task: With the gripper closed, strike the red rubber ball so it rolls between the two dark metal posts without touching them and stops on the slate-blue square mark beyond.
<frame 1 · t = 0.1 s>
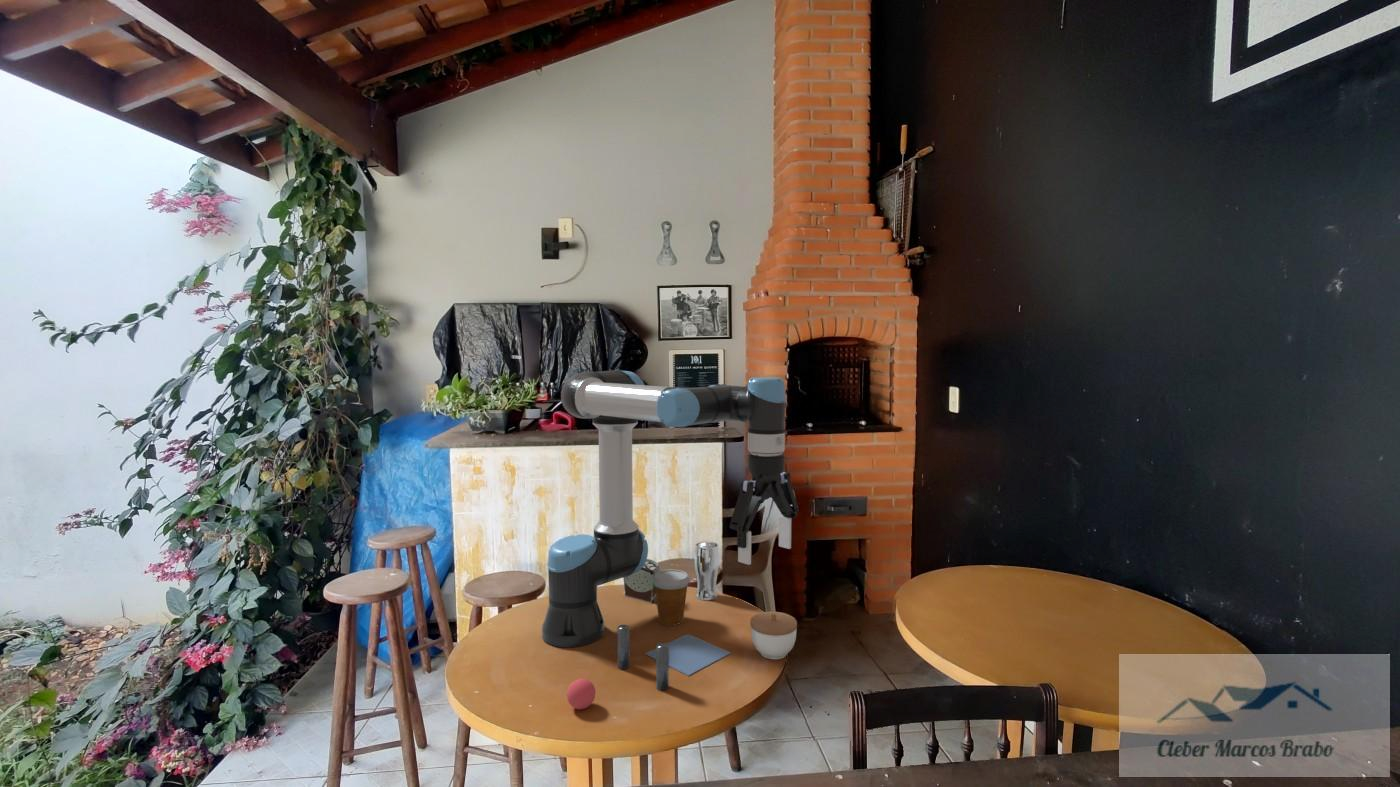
hand: (765, 554, 131), 28 cm above the table, tool pointing down, fingers open, 13 cm apart
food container: (644, 596, 181), on the table
lidded jar: (773, 654, 147), on the table
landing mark: (688, 654, 147), on the table
post 1: (623, 666, 141), on the table
post 2: (662, 687, 132), on the table
ball: (581, 693, 125), on the table
disposable coffee cup: (671, 621, 165), on the table
beer glass: (706, 597, 181), on the table
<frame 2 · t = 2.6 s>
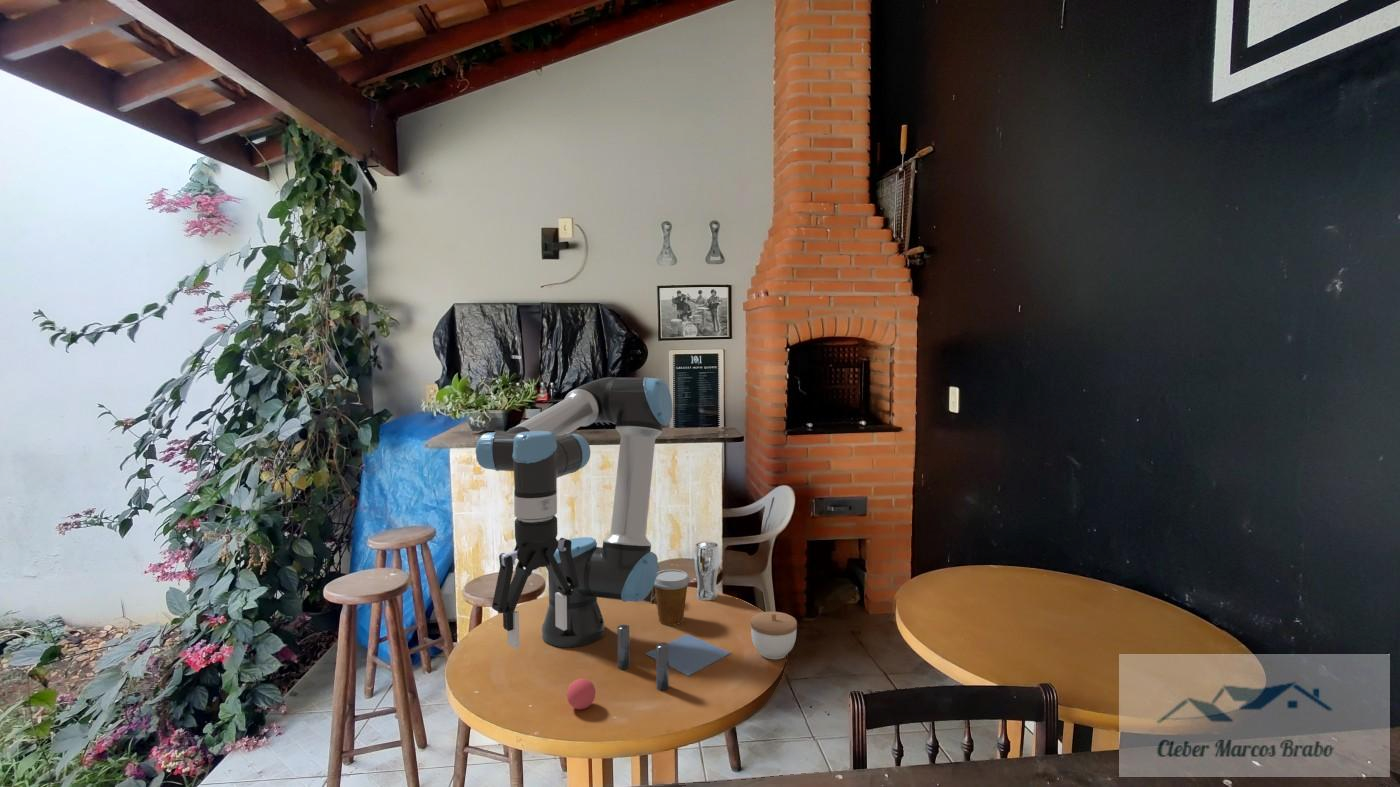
hand: (538, 636, 117), 18 cm above the table, tool pointing down, fingers open, 9 cm apart
nothing on the table moved.
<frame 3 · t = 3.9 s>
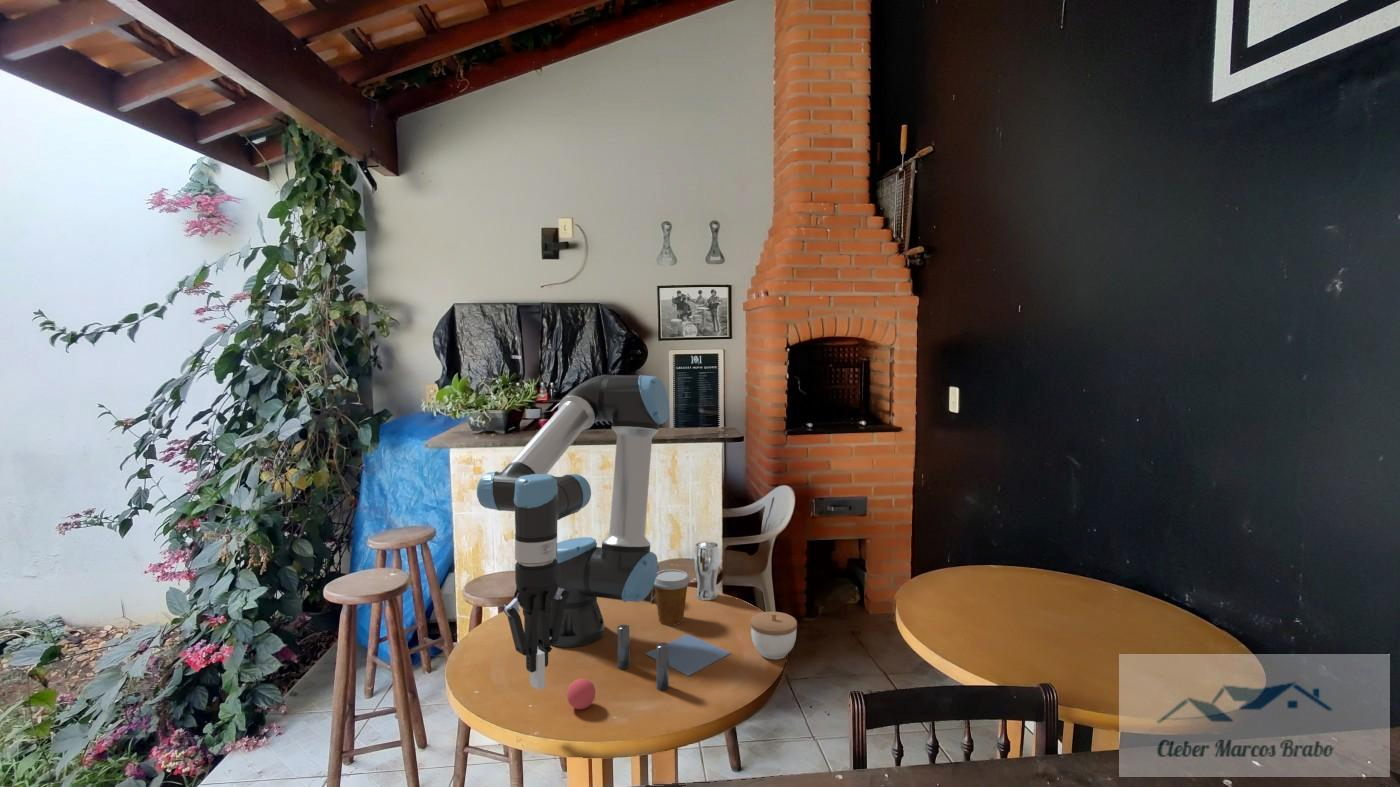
hand: (537, 685, 117), 8 cm above the table, tool pointing down, fingers closed
nothing on the table moved.
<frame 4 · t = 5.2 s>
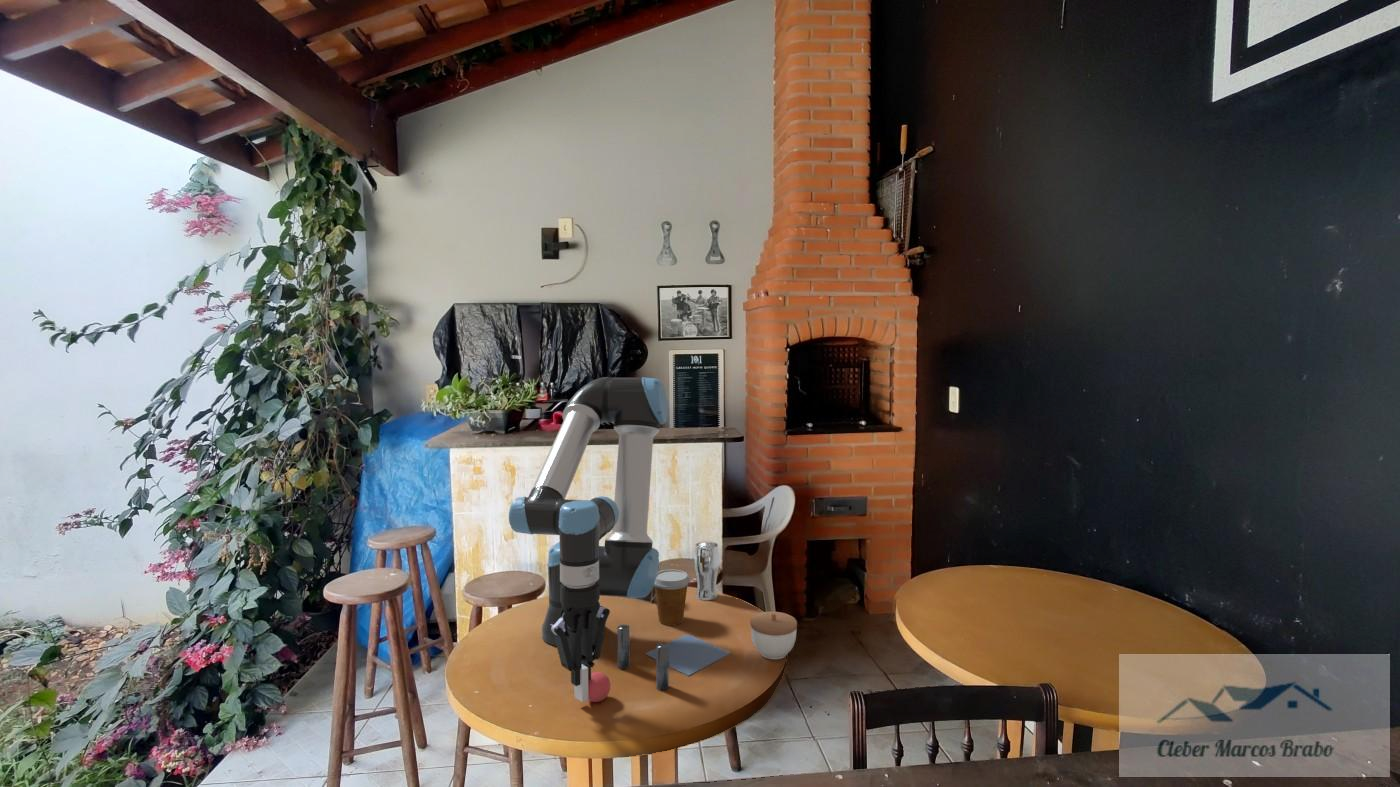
hand: (581, 698, 125), 2 cm above the table, tool pointing down, fingers closed
ball: (596, 686, 127), on the table
everything else where it was.
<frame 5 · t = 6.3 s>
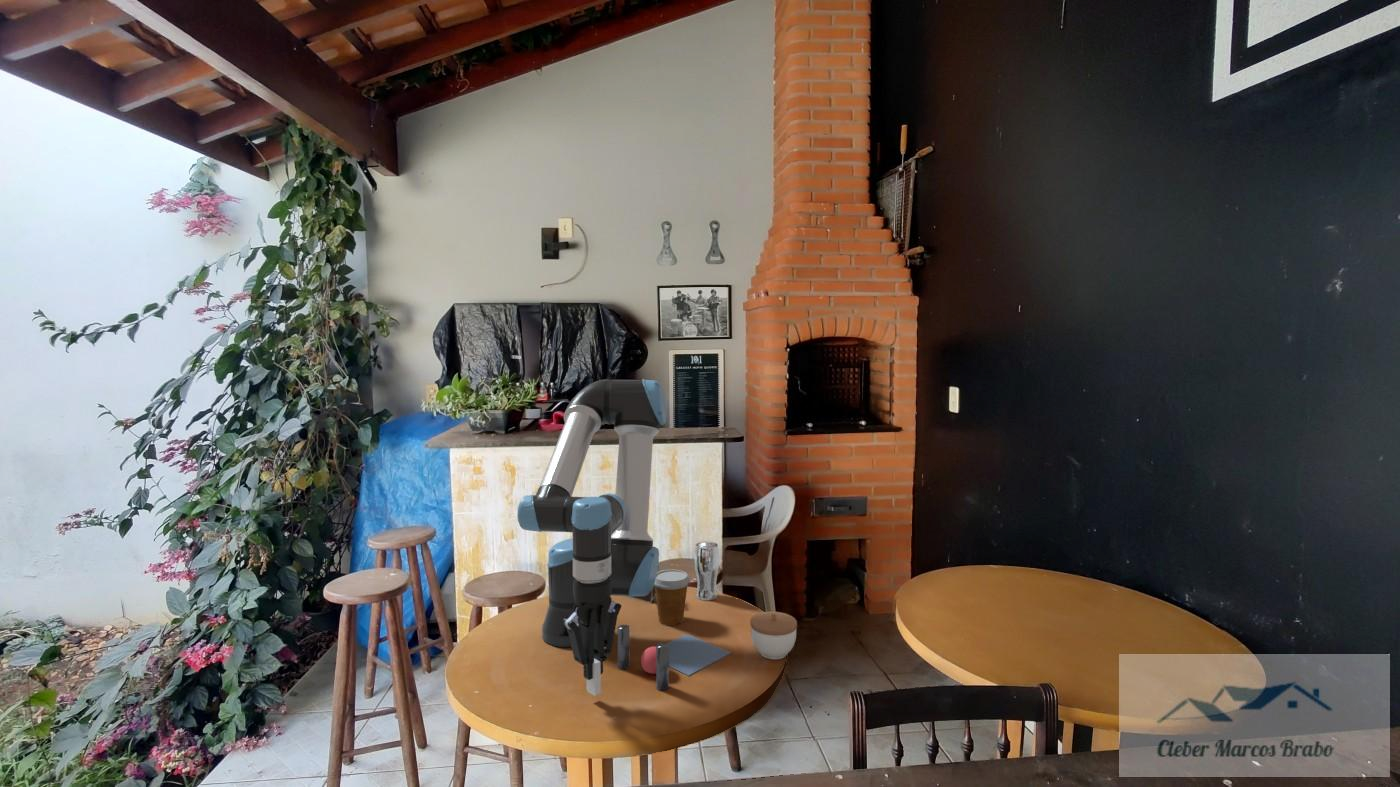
hand: (593, 691, 127), 2 cm above the table, tool pointing down, fingers closed
ball: (653, 660, 138), on the table
everything else where it was.
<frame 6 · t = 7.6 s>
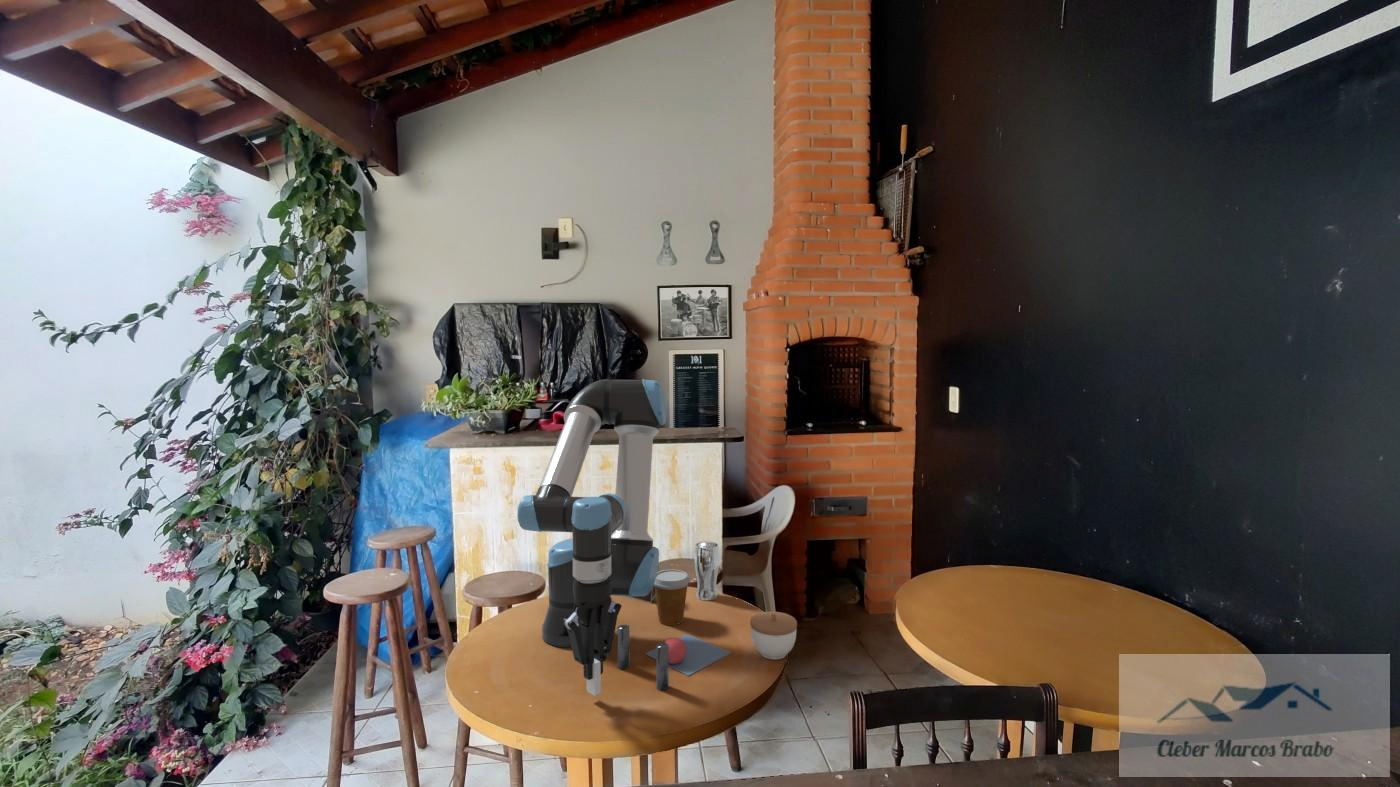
hand: (593, 691, 127), 2 cm above the table, tool pointing down, fingers closed
ball: (674, 650, 143), on the table
everything else where it was.
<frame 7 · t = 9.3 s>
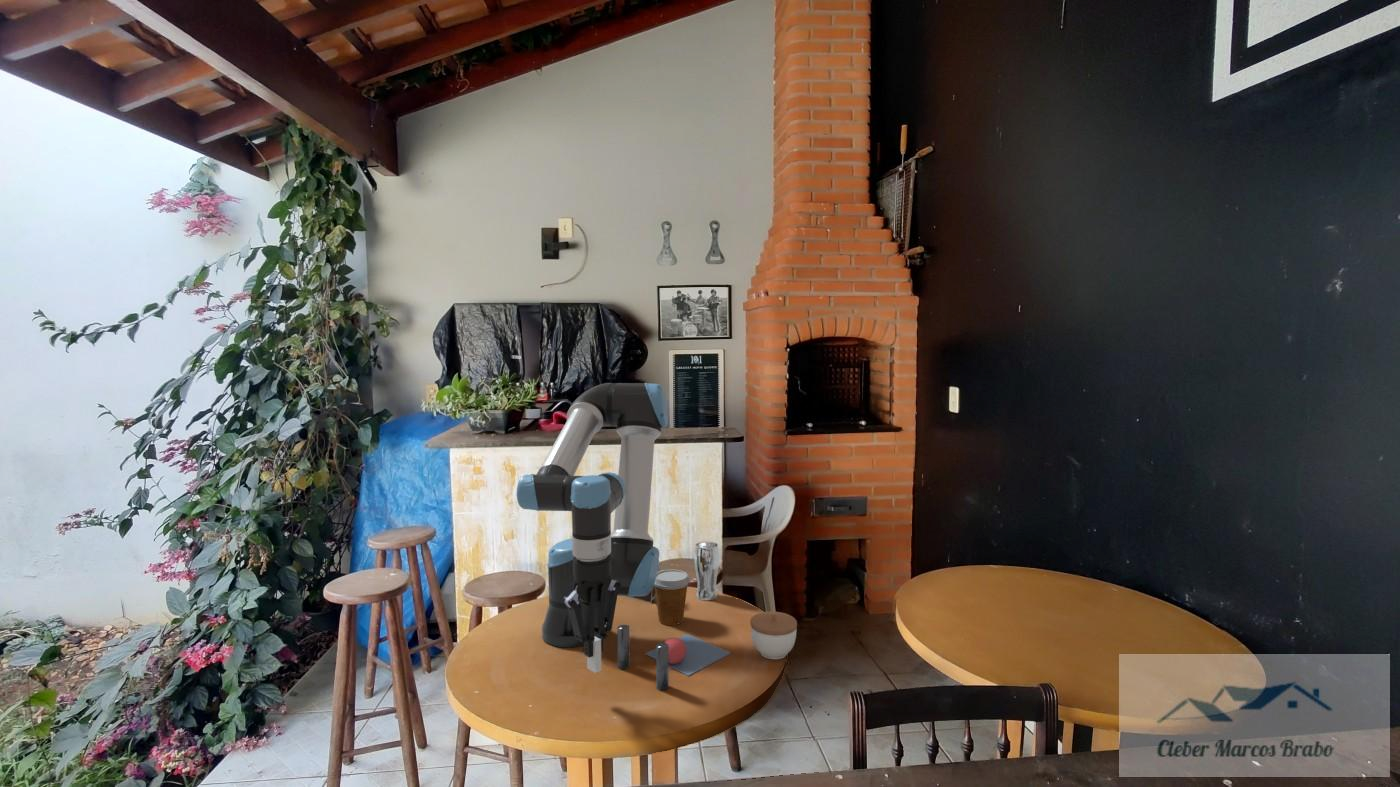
hand: (594, 669, 127), 6 cm above the table, tool pointing down, fingers closed
nothing on the table moved.
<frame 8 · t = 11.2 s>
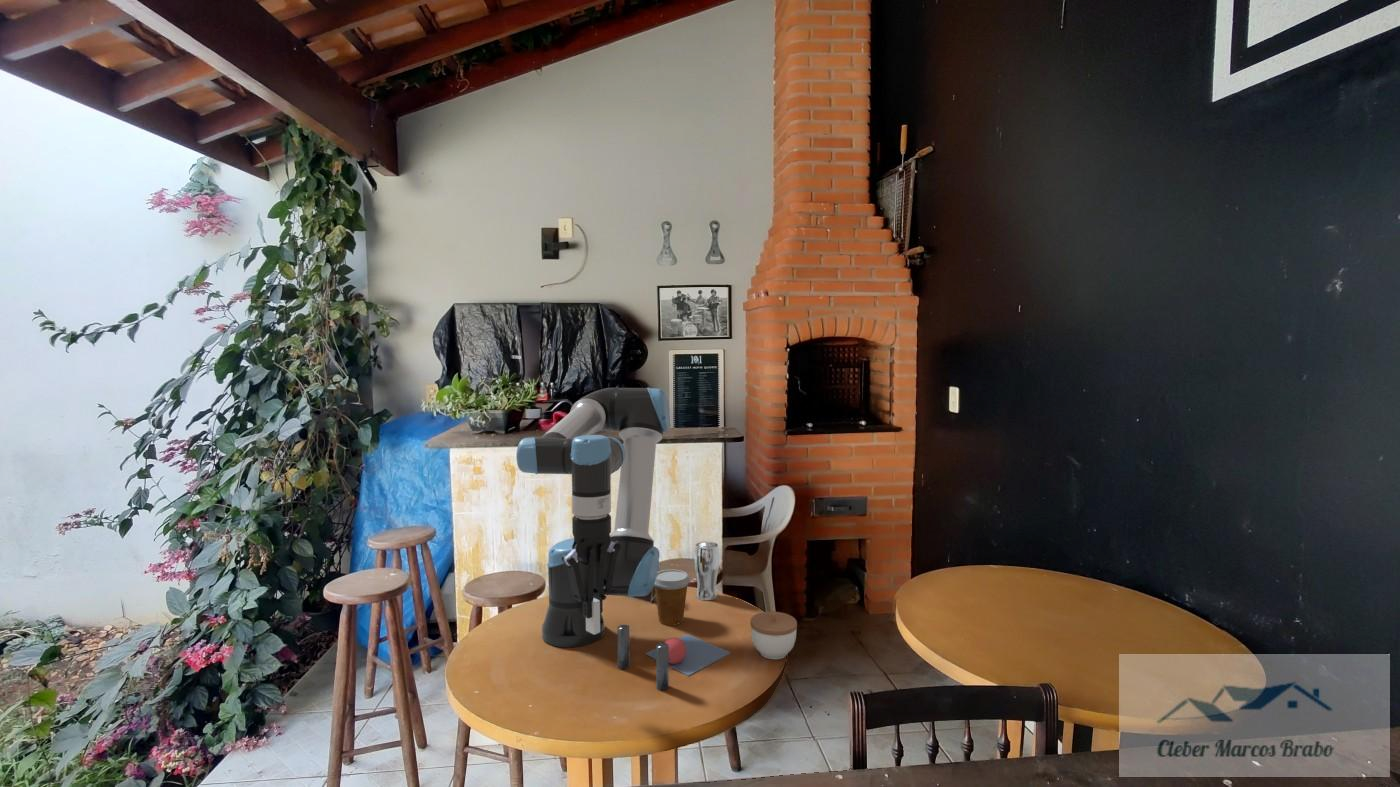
hand: (593, 631, 126), 14 cm above the table, tool pointing down, fingers closed
nothing on the table moved.
at the end: ball 5.0 cm from the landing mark (horizontally); ball never touched post 1; ball never touched post 2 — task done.
